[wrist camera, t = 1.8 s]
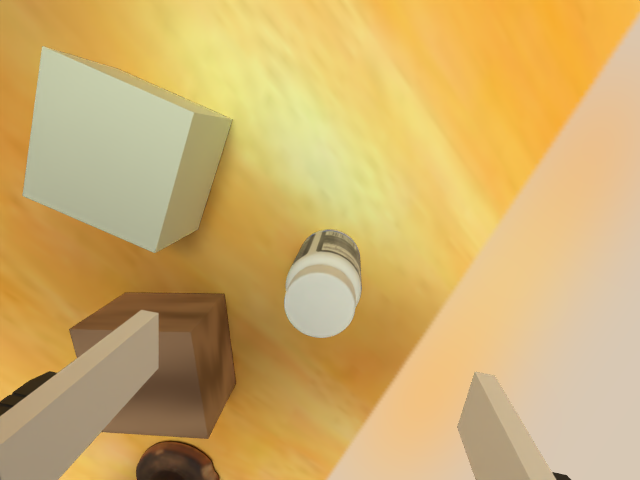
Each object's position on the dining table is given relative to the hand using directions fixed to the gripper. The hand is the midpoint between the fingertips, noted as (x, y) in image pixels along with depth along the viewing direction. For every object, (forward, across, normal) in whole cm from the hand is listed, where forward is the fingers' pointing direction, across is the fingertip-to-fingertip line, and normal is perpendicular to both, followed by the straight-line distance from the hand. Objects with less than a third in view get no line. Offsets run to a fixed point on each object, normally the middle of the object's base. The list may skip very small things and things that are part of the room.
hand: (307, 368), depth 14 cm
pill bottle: (+13, 0, 0) cm, 13 cm away
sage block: (+13, -14, +6) cm, 20 cm away
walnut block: (+13, -12, -10) cm, 20 cm away
